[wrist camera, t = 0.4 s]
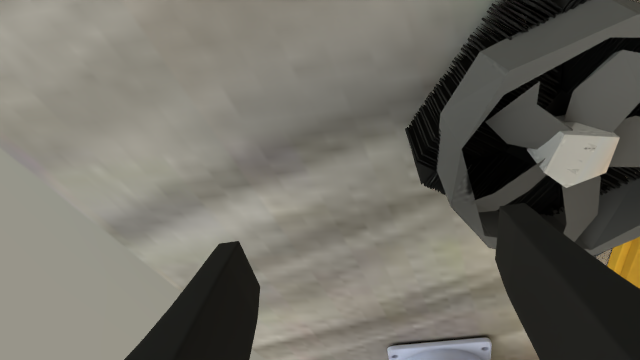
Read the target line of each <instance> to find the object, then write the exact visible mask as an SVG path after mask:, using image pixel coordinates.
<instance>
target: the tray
mask: <svg viewBox="0 0 640 360" xmlns="http://www.w3.org/2000/svg"><path fill="white" fill-rule="evenodd" d="M607 267H609V268H610V269H612V270H613V271H614V272H616V273H617V274H619V275H620V276H621V277H623V278H624V279H626V280H627V281H629V282H630V283H632V284H633V285H635V286H636V287H638V288H639V289H640V237H638V238H636V239H633V240H631V241H629V242H626V243H624V244H621V245H619V246H617V247H614V248H613V250H612V253H611V256H610V259H609V262H608V265H607Z"/></svg>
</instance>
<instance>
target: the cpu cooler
mask: <svg viewBox="0 0 640 360" xmlns="http://www.w3.org/2000/svg"><path fill="white" fill-rule="evenodd" d="M504 1H505V2H507V3H508V4H510V5H511V6H513V7H514V8H515V9H517V10H518V11H520V12H521V13H523V14H525V15H526V17H525V16H523V15H521V14H519V13H517V12H515V11H514V10H512V9H510V8H508V7H506V6H504V5H503V6H504V7H506V8H507V9H509V10H510V11H512V12H513V13H515V14H516V15H518V16H519V17H521V18H523V19H524V20H526V23H525V22H523V21H522V20H520V19H518V18H517V17H515V16H513V15H512V14H510V13H508V12H507V11H505V10H503V9H502V8H500V7H498V6H497V5H495V4H493V3H492V6H494V7H496V8H497V9H499V10H501V11H502V12H504V13H506V14H507V15H509V16H511V17H512V18H514V19H516V20H517V21H519V22H521V23H522V24H524V25H526V27H527V28H525V27H523V26H522V25H520V24H518V23H516V22H515V21H513V20H511V19H510V18H508V17H506V16H505V15H503V14H501V13H499V12H498V11H496V10H494V9H493V8H491V7H490V8H489V9H490V10H491V11H493V12H495V13H496V14H498V15H499V16H501V17H502V18H504V19H505V20H507V21H508V22H507V21H505V20H503V19H502V18H500V17H498V16H497V15H495V14H493V13H491V12H490V11H487V13H489V14H490V15H492V16H494V17H495V18H497V19H498V20H500V21H502V22H503V23H505V24H507V25H508V26H510V27H511V28H513V29H515V30H516V31H518V33H516V32H515V31H513V30H511V29H509V28H507V27H505V26H504V25H502V24H500V23H498V22H496V21H495V20H493V19H491V18H490V19H491V20H492V21H494V22H495V23H497V24H498V25H500V26H501V27H502V28H504V29H505V30H507V31H508V32H507V31H505V30H504V29H502V28H500V27H499V26H497V25H495V24H493V23H492V22H490V21H488V20H486V19H485V18H482V20H483V21H485V22H486V23H487V24H489V25H490V26H491V27H493V28H494V29H495V30H497V31H498V32H499V33H498V32H496V31H494V30H492V29H490V28H488V27H486V26H485V25H483V24H482V25H483V26H485V27H486V28H487V29H489V30H490V31H492V32H493V33H494V34H496V35H497V36H499V37H500V38H499V37H497V36H495V35H493V34H492V33H490V32H488V31H486V30H484V29H482V28H480V27H479V28H480V29H481V30H483V31H484V32H485V33H484V32H482V31H481V30H479V29H478V30H479V31H480V32H481V33H482V34H483V35H484V36H485V37H486V38H487V39H488V40H487V39H485V38H483V37H481V36H480V35H478V34H476V33H475V34H476V35H477V36H478V37H479V38H480V39H481V40H480V39H478V38H476V37H475V36H473V35H470V37H471V38H472V39H473V40H474V41H473V40H472V39H470V38H468V39H467V40H468V41H470V42H471V43H472V44H473V45H474V46H475V47H476V48H477V49H476V48H474V47H473V46H471V45H469V44H467V43H466V44H467V45H468V46H469V47H468V46H466V45H463V47H464V48H465V49H466V50H465V49H463V48H461V50H462V51H463V52H464V53H465V54H466V56H465V55H464V54H462V53H460V52H459V53H460V54H461V55H462V56H463V58H462V57H461V56H459V55H458V56H459V58H460V59H461V60H460V59H458V58H456V57H455V58H454V59H455V60H456V61H457V62H456V61H454V60H453V61H452V62H453V64H454V65H455V66H456V67H455V66H453V65H451V64H450V65H451V66H452V67H453V69H452V68H450V67H449V68H450V70H451V71H452V73H453V74H452V73H450V72H448V71H447V73H448V74H449V76H448V75H446V74H445V76H446V77H445V76H443V77H444V78H445V80H444V79H442V78H440V80H441V81H439V82H440V83H441V85H442V86H441V85H439V84H436V86H437V87H434V89H435V90H433V91H434V93H435V94H434V93H432V92H431V93H430V95H431V96H430V95H429V96H428V97H429V98H426V99H427V101H426V100H425V101H424V102H425V104H426V105H423V106H424V107H423V106H421V108H420V109H419V111H420V112H418V114H417V113H416V114H415V115H416V116H414V120H413V119H412V120H413V122H412V121H411V123H412V126H411V125H409V127H410V128H408V127H407V128H406V129H405V130H406V134H407V137H408V140H409V143H410V146H411V149H412V154H413V157H414V161H415V164H416V167H417V171H418V174H419V178H420V181H421V185H422V184H423V183H424V186H427V187H428V188H429V187H430V189H432V188H433V189H434V188H435V191H436V190H438V192H439V190H440V192H441V193H442V194H444V195H445V194H446V196H447V198H448V201H449V203H450V206H451V207H452V209H453V210H454V211H455V212H456V213H457V214H458V215H459V216H460V217H461V218H462V219H463V220H464V221H465V222H466V224H467V225H468V226H469V227H470V228H471V229H472V230H473V231H474V232H475V233H476V234H477V235H478V236H479V237H480V239H481V240H482V241H483V242H484V243H485V244H486V245H487V246H488V247H489V248H492V249H496V245H497V233H498V221H499V209H500V206H505V205H513V204H520V203H525V204H527V205H528V206H529V207H530V208H532V209H533V210H534V211H536V212H537V213H538V214H539V215H541V216H542V217H543V218H544V219H546V220H547V221H548V222H549V223H551V224H552V225H553V226H554V227H556V228H557V229H558V230H559V231H561V232H562V233H563V234H565V235H566V236H567V237H568V238H570V239H571V240H572V241H574V242H575V243H576V244H578V245H579V246H580V247H581V248H583V249H584V250H586V251H587V252H588V253H590V254H591V255H592V256H594V257H595V258H596V256H598V255H600V254H601V253H603V252H605V251H607V250H609V249H612V248H614V247H617V246H619V245H621V244H624V243H626V242H629V241H631V240H633V239H636V238H638V237H640V3H638V2H634V1H630V0H519V1H520V2H522V3H524V4H525V5H526V6H524V5H522V4H520V3H519V2H517V1H515V0H509V1H511V2H513V3H514V4H516V5H518V6H519V7H521V8H523V9H524V10H523V9H521V8H519V7H518V6H516V5H514V4H512V3H510V2H508V1H506V0H504ZM496 2H497V1H496ZM498 3H499V2H498ZM499 4H500V3H499ZM501 5H502V4H501ZM525 10H526V11H525ZM488 18H489V17H488ZM509 22H510V23H511V24H510V23H509ZM480 24H481V23H480ZM512 24H513V25H512ZM514 25H515V26H516V27H515V26H514ZM517 27H518V28H517ZM509 32H510V33H509ZM473 33H474V32H473ZM500 33H501V34H500ZM512 34H513V35H512ZM475 41H476V42H475ZM638 170H639V171H638Z"/></svg>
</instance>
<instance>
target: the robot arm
mask: <svg viewBox="0 0 640 360" xmlns="http://www.w3.org/2000/svg"><path fill="white" fill-rule="evenodd" d="M495 260H496V263H497V266H498V269H499V272H500V275H501V278H502V281H503V283H504V286H505V289H506V292H507V294H508V297H509V299H510V301H511V303H512V305H513V307H514V309H515V311H516V313H517V315H518V317H519V319H520V321H521V323H522V325H523V327H524V329H525V331H526V333H527V335H528V337H529V339H530V341H531V343H532V345H533V347H534V349H535V351H536V353H537V355H538V357H539V359H540V360H640V289H639V288H638V287H636V286H635V285H633V284H632V283H630V282H629V281H627V280H626V279H624V278H623V277H621V276H620V275H619V274H617V273H616V272H614V271H613V270H612V269H610V268H609V267H607V266H606V265H605V264H603V263H602V262H600V261H599V260H598V259H596V258H595V257H594V256H592V255H591V254H590V253H588V252H587V251H586V250H584V249H583V248H581V247H580V246H579V245H578V244H576V243H575V242H574V241H572V240H571V239H570V238H568V237H567V236H566V235H565V234H563V233H562V232H561V231H559V230H558V229H557V228H556V227H554V226H553V225H552V224H551V223H549V222H548V221H547V220H546V219H544V218H543V217H542V216H541V215H539V214H538V213H537V212H536V211H534V210H533V209H532V208H530V207H529V206H528V205H527V204H525V203H520V204H513V205H505V206H500V209H499V221H498V233H497V245H496V256H495ZM259 294H260V285H259V283H258V281H257V279H256V277H255V275H254V273H253V270H252V268H251V266H250V264H249V262H248V260H247V258H246V255H245V253H244V251H243V249H242V247H241V245H240V242H239V241H236V242H229V243H221V244H219V245H218V246H217V247H216V248H215V250H214V251H213V252H212V254H211V255H210V256H209V257H208V259H207V260H206V261H205V263H204V264H203V265H202V267H201V268H200V269H199V271H198V272H197V273H196V275H195V276H194V277H193V279H192V280H191V281H190V283H189V284H188V285H187V286H186V288H185V289H184V290H183V292H182V293H181V294H180V295H179V297H178V298H177V300H176V301H175V302H174V303H173V305H172V306H171V307H170V308H169V309H168V311H167V312H166V313H165V314H164V315H163V316H162V317H161V319H160V320H159V321H158V322H157V323H156V325H155V326H154V327H153V328H152V329H151V331H150V332H149V333H148V334H147V335H146V336H145V338H144V339H143V340H142V341H141V342H140V343H139V344H138V346H136V348H135V349H134V350H133V351H132V352H131V353H130V354H129V355H128V356H127V357H126V358H125V359H124V360H249V358H250V354H251V349H252V344H253V339H254V334H255V329H256V324H257V318H258V307H259ZM491 347H492V343H491V341H490V339H489V338H486V337H483V338H472V339H461V340H450V341H439V342H428V343H417V344H406V345H395V346H390V347H389V348H388V349H387V351H388V357H389V360H491Z"/></svg>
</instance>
